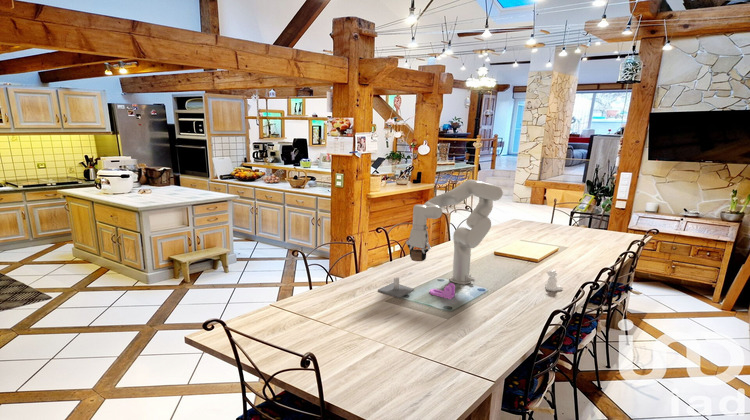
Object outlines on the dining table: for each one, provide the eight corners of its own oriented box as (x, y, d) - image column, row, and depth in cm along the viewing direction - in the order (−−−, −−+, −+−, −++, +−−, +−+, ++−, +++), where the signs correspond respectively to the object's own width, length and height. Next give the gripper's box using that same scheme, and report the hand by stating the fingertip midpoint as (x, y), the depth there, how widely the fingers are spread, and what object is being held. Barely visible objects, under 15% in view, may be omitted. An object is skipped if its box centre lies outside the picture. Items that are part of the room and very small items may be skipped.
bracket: (454, 296, 216) (455, 283, 214) (450, 299, 211) (451, 286, 210) (432, 290, 223) (433, 278, 222) (427, 293, 218) (428, 281, 217)
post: (414, 290, 222) (414, 278, 220) (399, 298, 211) (399, 285, 210) (393, 284, 230) (393, 272, 229) (377, 291, 220) (378, 278, 218)
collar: (426, 259, 227) (426, 250, 227) (419, 262, 222) (419, 253, 221) (415, 256, 232) (416, 248, 231) (408, 259, 226) (409, 250, 225)
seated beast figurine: (563, 289, 228) (565, 269, 225) (557, 294, 221) (560, 273, 219) (546, 285, 234) (548, 265, 232) (540, 289, 228) (542, 268, 225)
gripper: (436, 228, 221) (434, 260, 224) (410, 223, 232) (408, 253, 235) (429, 231, 215) (427, 263, 219) (402, 225, 226) (401, 256, 229)
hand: (417, 258), depth 227 cm, fingers closed on collar, 7 cm apart
